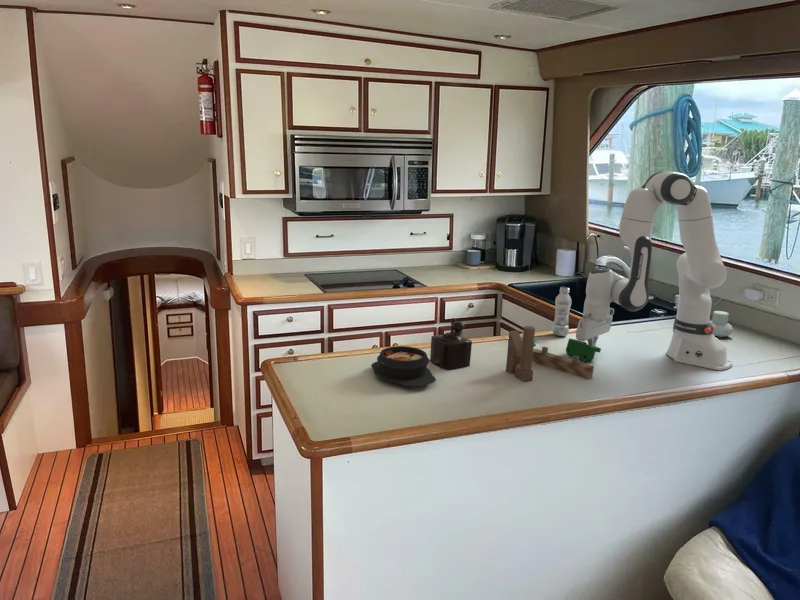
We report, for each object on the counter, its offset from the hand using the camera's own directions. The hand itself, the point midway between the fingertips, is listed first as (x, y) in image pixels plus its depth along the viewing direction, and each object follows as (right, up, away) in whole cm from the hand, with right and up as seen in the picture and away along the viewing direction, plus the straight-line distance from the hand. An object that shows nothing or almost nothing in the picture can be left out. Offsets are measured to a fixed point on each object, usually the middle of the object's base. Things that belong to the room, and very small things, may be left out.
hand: (591, 347), depth 235 cm
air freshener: (+63, +2, +32) cm, 71 cm away
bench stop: (-16, -6, -16) cm, 24 cm away
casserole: (-70, -8, -30) cm, 77 cm away
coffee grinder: (-53, -5, -18) cm, 56 cm away
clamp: (-4, -4, -3) cm, 6 cm away
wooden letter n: (-32, -8, -24) cm, 41 cm away
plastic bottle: (-6, +3, +22) cm, 23 cm away
